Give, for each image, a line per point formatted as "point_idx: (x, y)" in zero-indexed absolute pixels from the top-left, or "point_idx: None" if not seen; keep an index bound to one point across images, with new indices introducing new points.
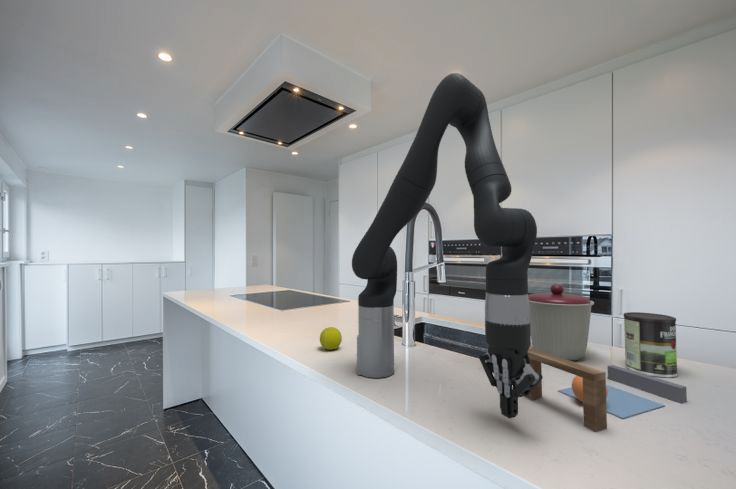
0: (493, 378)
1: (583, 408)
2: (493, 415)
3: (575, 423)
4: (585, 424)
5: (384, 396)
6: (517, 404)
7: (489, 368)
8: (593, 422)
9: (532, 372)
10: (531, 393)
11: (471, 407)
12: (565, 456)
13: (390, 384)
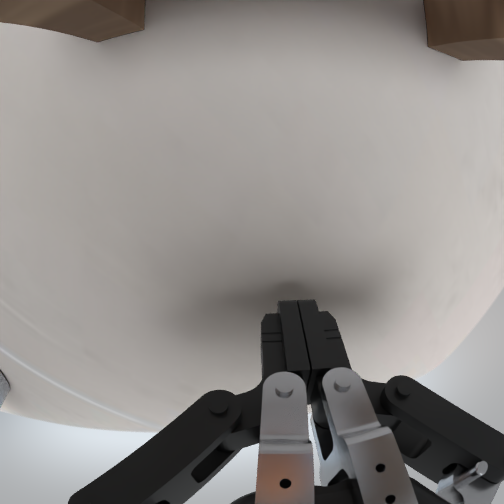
0: (227, 460)
1: (476, 39)
2: (210, 298)
3: (402, 45)
4: (441, 49)
5: (79, 414)
6: (343, 348)
7: (187, 497)
8: (478, 56)
9: (488, 492)
10: (129, 20)
11: (137, 322)
12: (464, 270)
13: (24, 380)
